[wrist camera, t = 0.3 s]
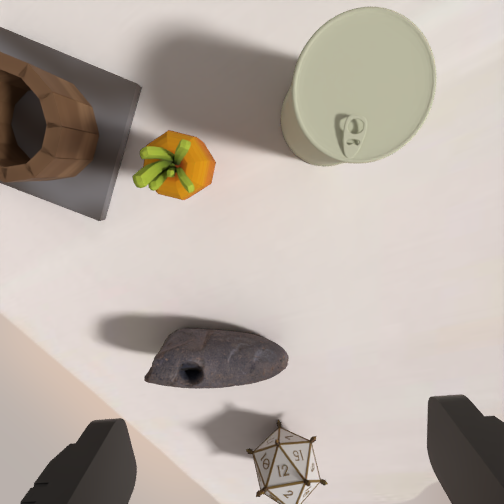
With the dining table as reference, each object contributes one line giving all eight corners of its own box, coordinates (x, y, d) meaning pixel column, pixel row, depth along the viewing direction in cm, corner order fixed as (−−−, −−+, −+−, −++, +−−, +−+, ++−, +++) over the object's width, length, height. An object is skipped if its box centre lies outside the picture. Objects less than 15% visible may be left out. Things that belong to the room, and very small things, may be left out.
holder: (1, 28, 30) (-77, -14, 23) (141, 87, 31) (107, 62, 24) (-23, 170, 34) (-97, 170, 27) (105, 219, 35) (65, 231, 28)
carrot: (221, 138, 32) (187, 111, 18) (229, 187, 33) (204, 201, 19) (173, 146, 32) (101, 126, 18) (183, 195, 34) (123, 213, 19)
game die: (290, 426, 45) (307, 518, 39) (234, 429, 42) (243, 530, 35) (325, 408, 39) (352, 513, 33) (262, 410, 36) (279, 527, 29)
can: (274, 159, 33) (280, 154, 21) (288, 59, 30) (305, -10, 19) (363, 172, 33) (420, 173, 21) (384, 72, 30) (461, 11, 19)
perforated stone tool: (288, 325, 37) (294, 360, 30) (284, 365, 39) (289, 406, 32) (160, 317, 37) (138, 349, 31) (161, 356, 39) (139, 395, 32)
